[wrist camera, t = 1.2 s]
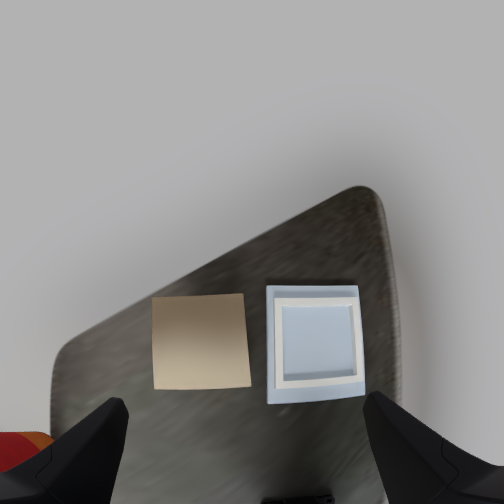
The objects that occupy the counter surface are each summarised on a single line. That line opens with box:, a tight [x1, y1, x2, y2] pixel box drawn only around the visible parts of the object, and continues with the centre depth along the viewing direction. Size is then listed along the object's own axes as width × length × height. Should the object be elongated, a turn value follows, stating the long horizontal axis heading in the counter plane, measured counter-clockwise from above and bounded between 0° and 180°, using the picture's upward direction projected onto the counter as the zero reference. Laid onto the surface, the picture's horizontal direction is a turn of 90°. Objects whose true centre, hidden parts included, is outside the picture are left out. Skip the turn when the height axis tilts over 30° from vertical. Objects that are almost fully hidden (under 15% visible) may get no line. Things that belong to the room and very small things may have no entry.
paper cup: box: [0, 432, 55, 472], centre depth 10 cm, size 8×8×14 cm
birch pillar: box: [152, 293, 251, 389], centre depth 17 cm, size 4×4×11 cm
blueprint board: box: [266, 286, 365, 404], centre depth 23 cm, size 10×8×2 cm
